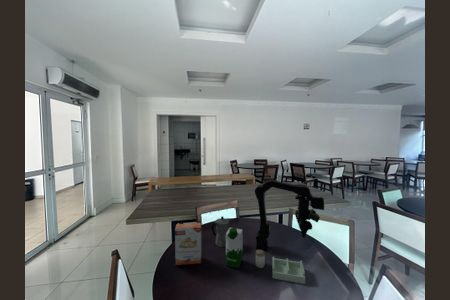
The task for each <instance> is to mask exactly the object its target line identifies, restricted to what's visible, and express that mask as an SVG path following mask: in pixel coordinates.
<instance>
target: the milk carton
mask: <svg viewBox="0 0 450 300" xmlns="http://www.w3.org/2000/svg"><path fill="white" fill-rule="evenodd" d="M243 232H244V231H243V229H240V228H235V227H229V228H228V231H227V233H226V247H225V265H226V267H231V268H234V269H239V268H240V265H241V264H242V260H243V249H244V248H243V247H244V246H243V243H244V242H243V241H244V239H243Z"/></svg>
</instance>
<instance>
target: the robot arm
mask: <svg viewBox="0 0 450 300" xmlns="http://www.w3.org/2000/svg"><path fill="white" fill-rule="evenodd" d="M271 188H275V189H279V190H284V191H287V192H292V193H294V194H296V196H295V197H294V198H295V200H298V204H297V205H298V206H297V209H296V210H295V211H294V216H295V219H296V222H297V225H298V228H299V230H300V234H301V237H302V238H306V236H307V233H308V231H311V230H313V224H312V223H311V221H313V222H315V223H318V222H319V220H320V218H321V217H320V216H319V214H318V213H316V210H321V211H325V201H324V197H323V196H322V197H321V196H314V195H313V194H312V193H311V190H310V188H309V186H308V185H307V184H293V183H290V182H289V183H288V182H283V181H280V180H275V179H270V180H268V181H266V182H264V183H263V184H258V185H257V186H256V187H255V189H254V195H255V198H256V200H257V203H258V214H259V222H260V225H259V230H258V231H257V233H256V235H255V241H256V247H255V249H256V250H263V251H264V252H267V250H268V244H269V243H268V242H269V241H268V240H267V239H268V238H269V237H270V235H271V231H272V228H271V223H269V222H268V218H267V209H266V200H265V198H266V192H267V191H269V190H270V189H271ZM310 208H312V209H311V210H310ZM310 220H311V221H310ZM256 250H255V251H256Z"/></svg>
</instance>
